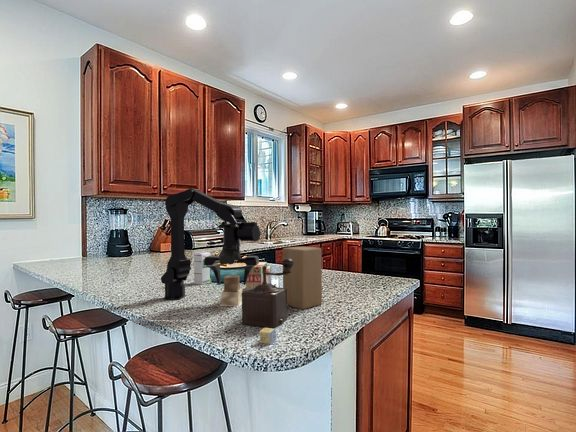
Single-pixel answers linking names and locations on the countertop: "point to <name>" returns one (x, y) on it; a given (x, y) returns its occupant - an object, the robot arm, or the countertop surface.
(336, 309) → the countertop surface
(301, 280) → the wooden block
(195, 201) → the robot arm
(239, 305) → the building mat
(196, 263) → the syrup box
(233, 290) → the brown block
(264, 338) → the alphabet block
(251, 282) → the stack of blocks
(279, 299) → the manual coffee grinder
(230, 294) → the maple base block
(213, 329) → the countertop surface
